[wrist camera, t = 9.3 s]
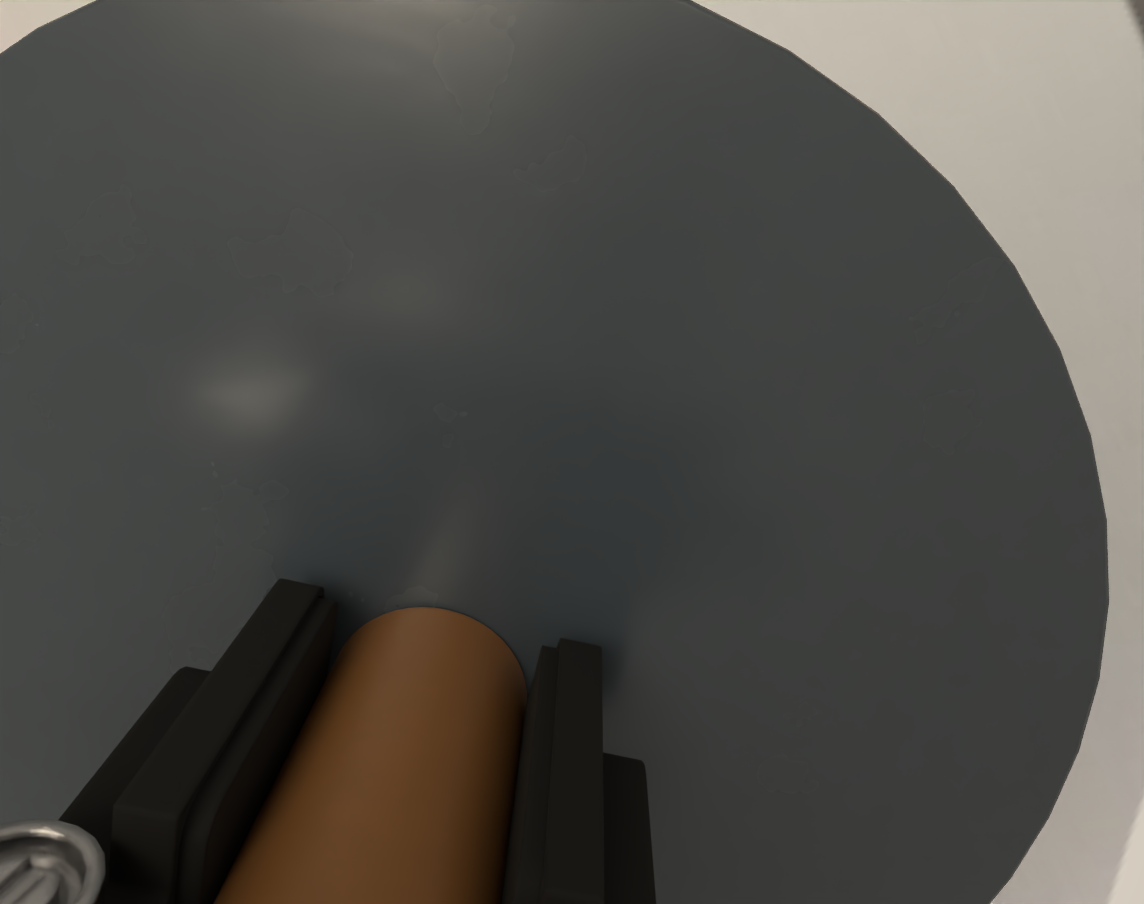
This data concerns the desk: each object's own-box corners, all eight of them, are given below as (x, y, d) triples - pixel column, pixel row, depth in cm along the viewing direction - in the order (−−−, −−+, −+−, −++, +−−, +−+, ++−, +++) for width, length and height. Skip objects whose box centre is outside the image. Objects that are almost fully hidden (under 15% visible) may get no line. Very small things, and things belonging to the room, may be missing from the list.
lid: (1308, 168, 10) (2300, 200, 4) (824, 1132, 16) (957, 1702, 10) (-220, -222, 9) (-1673, -871, 3) (-131, 955, 15) (-590, 1468, 9)
